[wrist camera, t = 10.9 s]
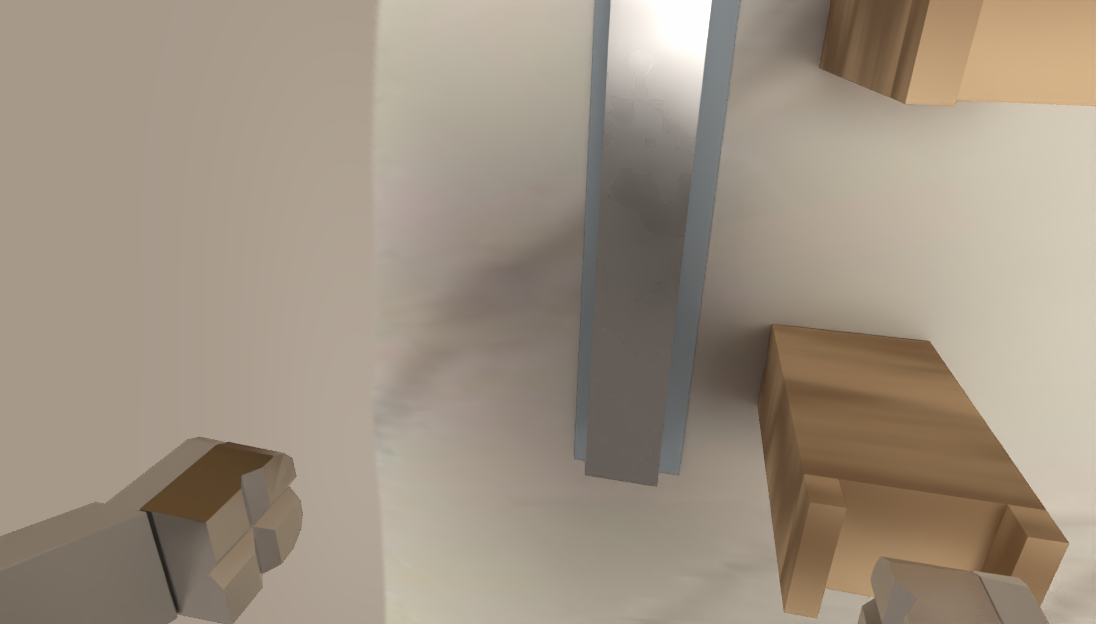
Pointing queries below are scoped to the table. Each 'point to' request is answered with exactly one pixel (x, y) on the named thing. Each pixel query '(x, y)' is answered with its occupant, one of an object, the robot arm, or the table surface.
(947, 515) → the stand far
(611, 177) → the bar
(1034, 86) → the stand near
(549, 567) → the table surface
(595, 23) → the grey flat bar
